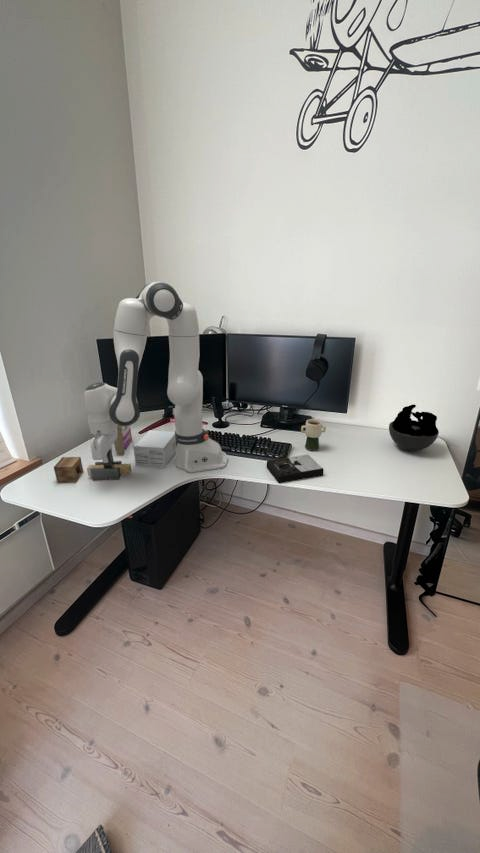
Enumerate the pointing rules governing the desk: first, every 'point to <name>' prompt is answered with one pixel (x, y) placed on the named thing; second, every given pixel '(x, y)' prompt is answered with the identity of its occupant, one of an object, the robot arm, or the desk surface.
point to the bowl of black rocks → (413, 429)
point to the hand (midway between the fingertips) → (108, 459)
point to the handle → (119, 442)
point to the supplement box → (155, 449)
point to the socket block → (68, 470)
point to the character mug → (313, 433)
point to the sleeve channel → (105, 472)
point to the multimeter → (294, 468)
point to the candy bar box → (126, 436)
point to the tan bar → (122, 467)
